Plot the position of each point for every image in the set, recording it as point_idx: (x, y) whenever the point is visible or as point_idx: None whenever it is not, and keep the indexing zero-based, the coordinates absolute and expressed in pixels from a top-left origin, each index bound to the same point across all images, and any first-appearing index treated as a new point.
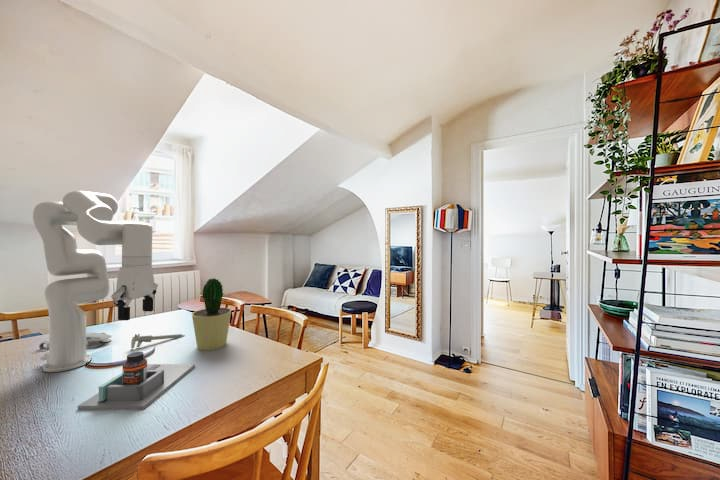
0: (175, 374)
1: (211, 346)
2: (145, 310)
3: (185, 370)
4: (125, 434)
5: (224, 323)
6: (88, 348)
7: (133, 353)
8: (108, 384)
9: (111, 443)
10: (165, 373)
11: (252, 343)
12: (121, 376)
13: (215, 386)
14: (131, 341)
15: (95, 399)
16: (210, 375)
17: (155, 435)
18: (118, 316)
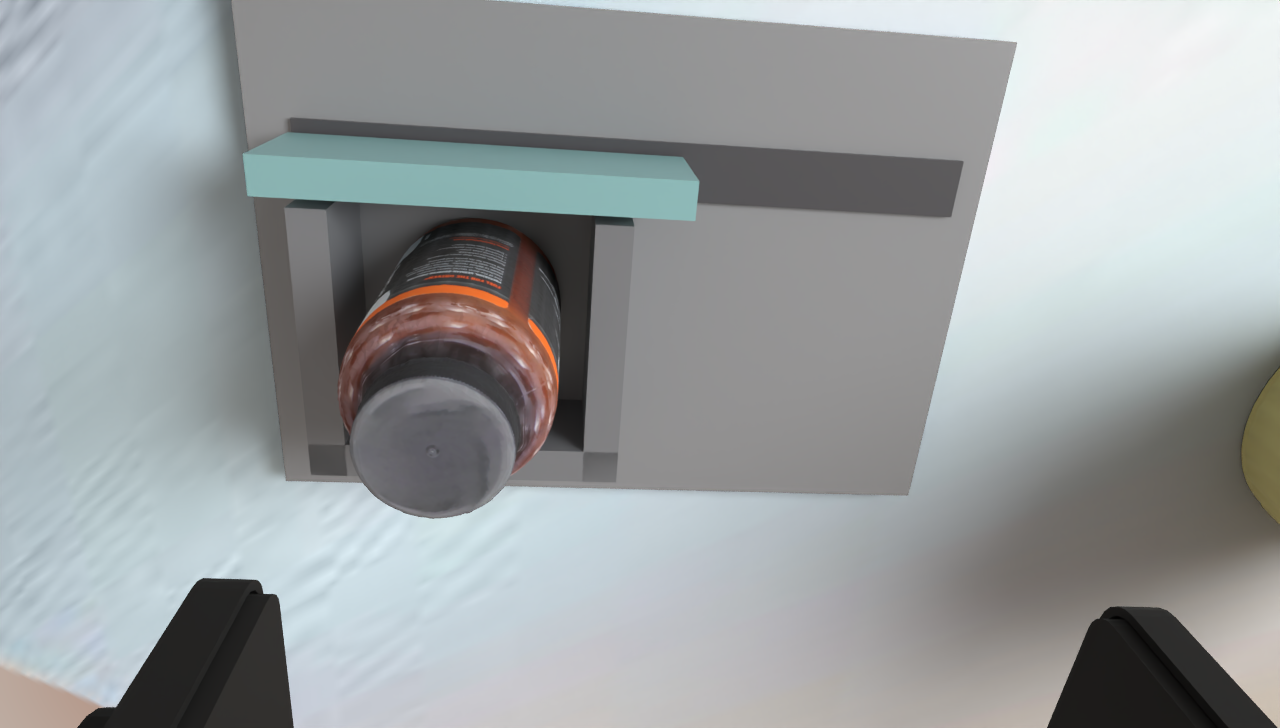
0: (736, 442)
1: (1263, 478)
2: (1080, 685)
3: (799, 479)
4: (49, 519)
5: None
6: None
7: (445, 424)
8: (315, 197)
9: None
10: (765, 356)
11: (1270, 701)
12: (474, 206)
13: (577, 718)
14: None
15: (337, 58)
16: (734, 637)
17: (76, 659)
18: (164, 654)
